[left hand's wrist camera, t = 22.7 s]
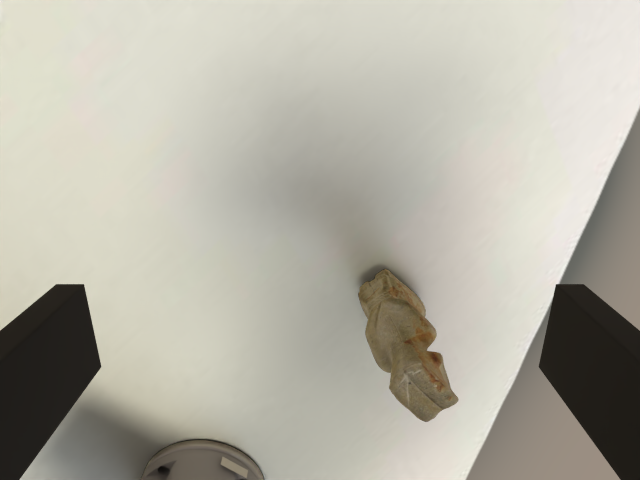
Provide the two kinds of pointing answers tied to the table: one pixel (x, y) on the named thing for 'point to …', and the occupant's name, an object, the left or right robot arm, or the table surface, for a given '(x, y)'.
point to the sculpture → (405, 346)
